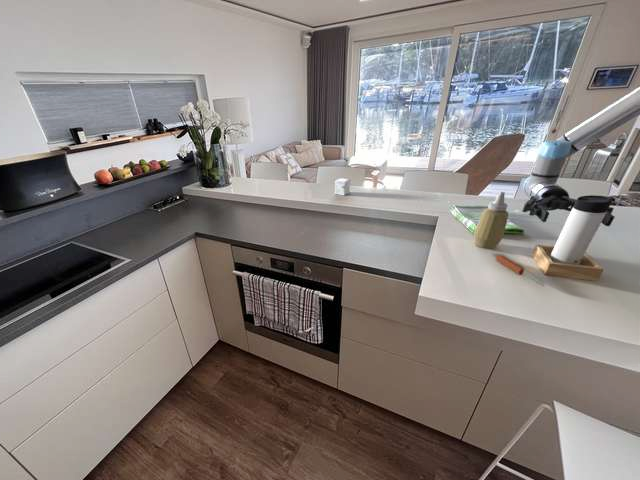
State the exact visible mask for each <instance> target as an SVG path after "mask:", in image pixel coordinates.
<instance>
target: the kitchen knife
mask: <svg viewBox="0 0 640 480" xmlns="http://www.w3.org/2000/svg"><path fill="white" fill-rule="evenodd" d="M495 260H496V261H497V262H498V263H499V262H500V263H499V264H501V265H503V266H505V267H507V268H508V269H510V270H512V271H514V272H515V273H516V274H518V275H519V276H522V275H523V276H525V277H526V278H528V279H530V280H531V281H533V282H534V283H537V284H539V285H540V286H542V287H545V283H544V282H543V281H542V280H541V279H540V278H538V277H536V276H535V275H534V274H531V273H530V272H528V271H527V270H525V268H524V267H522V266H520V265H519V264H517V263H516V262H514V261H512V260H510V259H509V258H507V257H505V256H503V255H497V256H496V257H495Z"/></svg>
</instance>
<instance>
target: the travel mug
mask: <svg viewBox="0 0 640 480" xmlns="http://www.w3.org/2000/svg"><path fill="white" fill-rule="evenodd" d="M612 202H616V198H615V197H614V196H605V195H592V194H591V195H590V194H589V195H582V196H581V195H580V196H578V197H577V198H576V202H575V205H574V206H573V208H572V210H571V211H569V215H568V217H567V219H566V221H565V223H564V225H563V228H562V229H561V232H560V234H559V236H558V237H557V240H556V243H555V244H554V246H555V247H554V249H553V251H552V253H551V255H550V257H549V258H550V259H551V260H552V262H554V263H563V264H572V265H579V263H580V261H581V259H582V257H583V256H584V254H585V252H587V250H588V248H589V246H590V245H591V243H592V241H593V240H594V239H593V238H594V237H595V235H596V233H597V232H598V229H599V228H600V225H601V224H602V223H601V222H602V220H603V218H604V216H605V214H606V212H607V210H608V208H609V207H611V205H612Z"/></svg>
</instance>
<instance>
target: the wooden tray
mask: <svg viewBox="0 0 640 480" xmlns="http://www.w3.org/2000/svg"><path fill="white" fill-rule="evenodd" d="M554 247H555V245H544V244H535V246H534V248H533V250H532V253H531V256H532V258H533V260H535V262H536V264H537V265H538V267H539V268H540V271H542V273H543V274H544V275H545V276H552V277H560V278H561V277H562V278H568V279H569V278H570V279H575V280H576V279H577V280H585V281H594V282H597V281H598V280H599V279H600V277H601V275H602V273H603V272H604V270H605V269H604V268H603V267H602V266H601V265H600V264H599V263H598V262H597V261H596V260H595V259H594V258H593V257H592V256H591V254H589V253H588V252H587V251H586V252H585V254H584V256H583V257H582V259H581V261H580V263H579V265H572V264H563V263H554V262H552V260H551V259H550V258H549V257H550V255H551V253H552V251H553V249H554Z"/></svg>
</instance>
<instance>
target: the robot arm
mask: <svg viewBox="0 0 640 480" xmlns="http://www.w3.org/2000/svg"><path fill="white" fill-rule="evenodd" d="M638 117H640V86H638V87H637V88H635V89H633V90H632V91H631V92H629V93H627V94H626V95H624V96H622V97H621V98H619V99H617V100H616V101H614V102H613V103H612V104H610V105H608V106H606V107H605V108H604V109H602V110H601V111H598V112H597V113H596V114H594V115H593V116H591V117H590V118H588V119H587V120H585V121H583V122H582V123H580V124H578V125H577V126H575V127H574V128H572V129H571V130H569V131H567V132H566V133H565V134H563V135H561V136H560V137H558V138H557V139H553V140H552V139H551V140H546V141H544V142H543V143H542V144H541V147H540V149H539V150H538V154H537V158H536V160H535V162H534V166H533V169H532V172H531V173H530V176H529V177H527V178H526V179H525V180H524V182H523V184H522V188H523V192H524V193H525V195H526V196H527V197H529V199H528V200H527V201H526V202H525V203H524V205H523V208H522V212H523V213H528V212H529V214H528V215H529V216H536V217H537V218H538V220H540V221H541V222H542V223H547V221H548V218H549V215H550V211H556V210H560V211H561V210H564V211H568V212H571V210H572V208H573V206H574V205H575V202H576V200H577V198H571V197H570V194H569V192H568V191H567V190H566V189H564V188H563V187H562V186H560V185H559V184H558V183H557V182H558V179H559V177H560V175H561V172H562V169H563V168H564V166H565V162H566V160H567V158H569V157H571V156H573V155H574V154H576V153H577V152H579V151H581V150H582V149H584V148H585V147H588V146H589V145H592V144H593V143H595V142H596V141H598V140H600V139H601V138H603V137H605V136H607V135H609V134H611V133H612V132H614V131H615V130H617V129H619V128H620V127H623V126H624V125H626V124H627V123H629V122H631V121H633V120H634V119H636V118H638ZM613 211H614V207H611V206H609V208H608V210H607V212H606V214H605V216H604V218H603V220H602V222H601V224H603V225H604V226H605V227H610V226H611V224H612V223H613V221H614V219H615V216H614V215H613V214H612V213H613Z"/></svg>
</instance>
